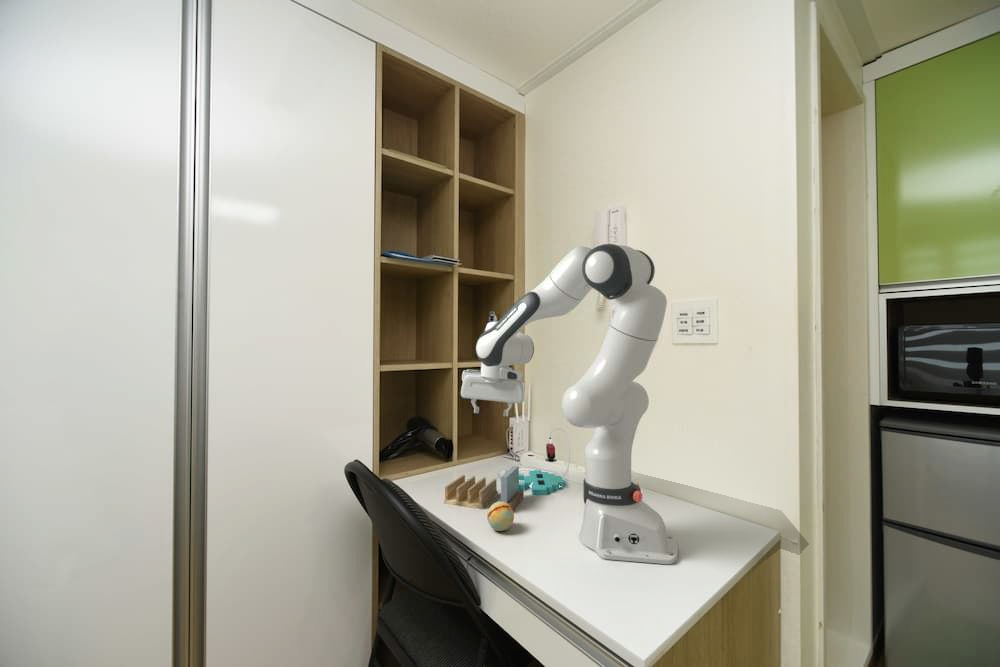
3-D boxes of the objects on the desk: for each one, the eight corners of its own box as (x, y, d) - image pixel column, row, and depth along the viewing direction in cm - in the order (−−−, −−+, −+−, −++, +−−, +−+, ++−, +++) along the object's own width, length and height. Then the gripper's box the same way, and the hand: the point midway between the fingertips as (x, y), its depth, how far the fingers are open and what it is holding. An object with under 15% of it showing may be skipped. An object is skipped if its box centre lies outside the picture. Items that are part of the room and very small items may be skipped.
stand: (523, 498, 121) (523, 490, 121) (511, 513, 109) (510, 504, 109) (509, 496, 122) (509, 488, 122) (496, 511, 111) (496, 502, 111)
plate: (518, 498, 121) (518, 466, 121) (507, 512, 110) (506, 477, 111) (513, 497, 121) (513, 465, 122) (501, 511, 111) (500, 476, 111)
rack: (497, 494, 124) (497, 478, 124) (482, 509, 112) (482, 491, 113) (461, 489, 128) (461, 474, 129) (444, 503, 117) (444, 486, 117)
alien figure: (505, 496, 123) (567, 496, 123) (505, 489, 123) (567, 489, 123) (505, 476, 143) (559, 476, 143) (505, 470, 143) (558, 470, 143)
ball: (486, 524, 103) (486, 497, 103) (512, 522, 104) (511, 496, 104) (488, 537, 96) (488, 508, 96) (516, 535, 97) (515, 507, 97)
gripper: (460, 369, 119) (456, 413, 120) (525, 375, 117) (521, 420, 118) (464, 367, 126) (460, 408, 126) (526, 373, 124) (522, 415, 124)
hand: (490, 414), depth 122 cm, fingers open, 8 cm apart
